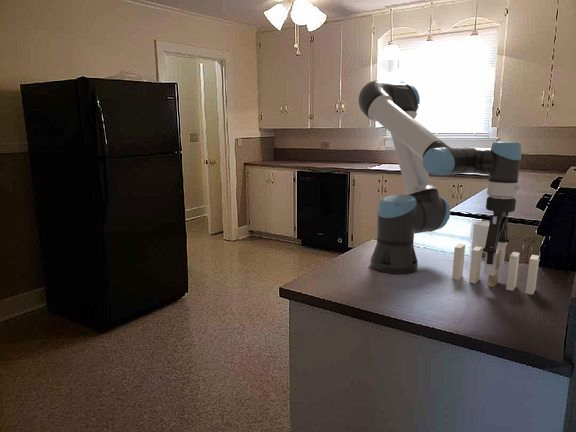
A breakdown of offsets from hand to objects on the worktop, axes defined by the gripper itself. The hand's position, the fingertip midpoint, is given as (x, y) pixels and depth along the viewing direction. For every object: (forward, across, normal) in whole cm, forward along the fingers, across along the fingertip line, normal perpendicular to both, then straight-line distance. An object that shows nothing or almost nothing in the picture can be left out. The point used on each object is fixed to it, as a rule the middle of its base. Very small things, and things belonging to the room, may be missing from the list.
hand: (494, 268), depth 127 cm
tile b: (+5, 0, +5) cm, 7 cm away
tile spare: (+5, 0, 0) cm, 5 cm away
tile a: (+5, 0, +10) cm, 11 cm away
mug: (+5, +38, +9) cm, 39 cm away
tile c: (+5, 0, -5) cm, 7 cm away
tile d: (+5, 0, -10) cm, 11 cm away
